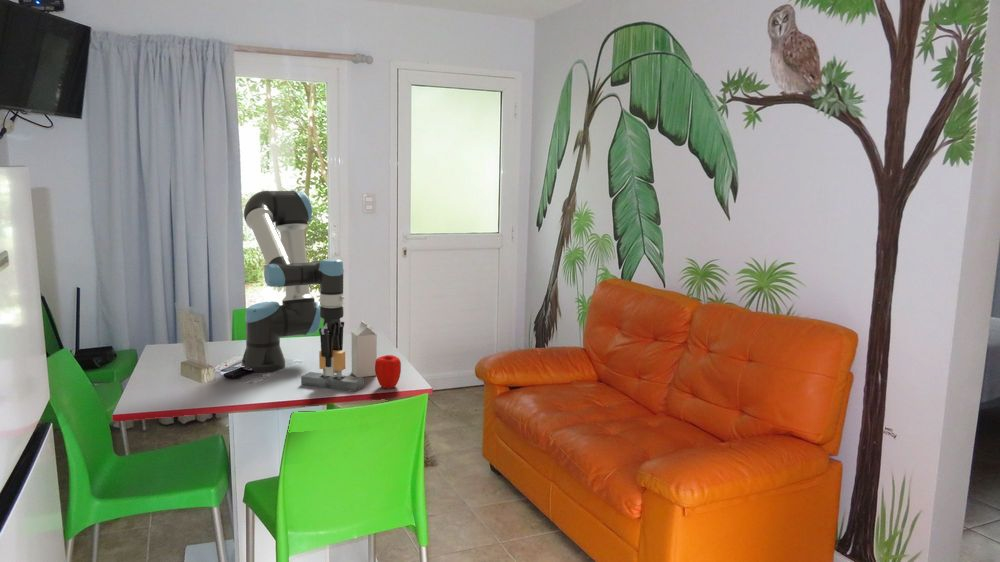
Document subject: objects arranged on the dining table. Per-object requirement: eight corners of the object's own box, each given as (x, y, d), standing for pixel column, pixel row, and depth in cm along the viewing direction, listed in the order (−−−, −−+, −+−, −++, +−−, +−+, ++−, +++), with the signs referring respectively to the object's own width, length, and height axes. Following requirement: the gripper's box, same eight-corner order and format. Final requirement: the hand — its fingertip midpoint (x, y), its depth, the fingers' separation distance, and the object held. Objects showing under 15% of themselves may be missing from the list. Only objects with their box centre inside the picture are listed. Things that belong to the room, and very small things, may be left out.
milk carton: (357, 378, 249) (357, 325, 247) (351, 372, 256) (351, 321, 253) (376, 375, 253) (376, 323, 250) (370, 370, 259) (370, 319, 256)
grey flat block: (301, 385, 239) (301, 376, 239) (310, 380, 245) (310, 371, 245) (355, 391, 235) (355, 382, 234) (363, 386, 240) (363, 377, 240)
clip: (319, 380, 239) (319, 351, 238) (323, 377, 242) (323, 349, 240) (341, 382, 237) (341, 353, 236) (345, 380, 240) (345, 351, 238)
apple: (377, 382, 245) (377, 352, 243) (402, 383, 244) (403, 353, 243) (372, 390, 236) (372, 358, 234) (398, 391, 236) (398, 359, 234)
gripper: (330, 311, 227) (330, 382, 231) (353, 302, 242) (353, 369, 246) (309, 309, 229) (310, 379, 232) (333, 300, 244) (333, 367, 248)
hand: (332, 374), depth 239 cm, fingers closed on clip, 3 cm apart
